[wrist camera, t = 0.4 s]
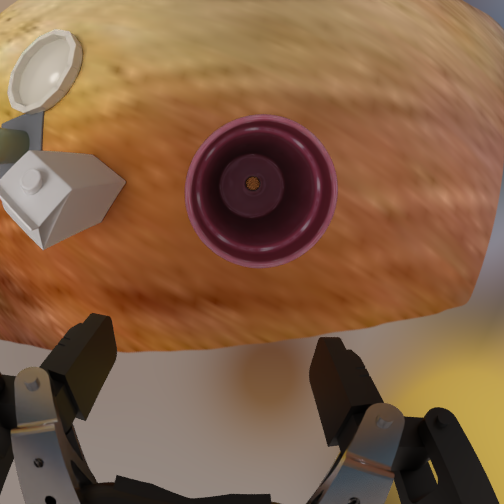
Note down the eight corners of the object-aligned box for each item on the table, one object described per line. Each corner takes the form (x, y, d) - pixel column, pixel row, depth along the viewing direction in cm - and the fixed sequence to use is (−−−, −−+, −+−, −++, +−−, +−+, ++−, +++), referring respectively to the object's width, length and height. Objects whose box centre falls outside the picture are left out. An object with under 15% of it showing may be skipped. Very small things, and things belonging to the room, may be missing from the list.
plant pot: (280, 252, 39) (304, 287, 27) (183, 219, 36) (163, 242, 24) (317, 157, 36) (359, 151, 23) (220, 119, 33) (217, 91, 21)
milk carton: (101, 222, 35) (19, 263, 17) (69, 194, 34) (-20, 216, 15) (127, 181, 34) (47, 193, 16) (92, 154, 32) (3, 148, 14)
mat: (3, 124, 28) (1, 123, 28) (44, 107, 29) (43, 107, 29) (1, 184, 31) (0, 184, 31) (42, 173, 32) (40, 174, 32)
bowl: (26, 52, 24) (17, 47, 22) (89, 26, 26) (82, 18, 23) (13, 122, 28) (3, 121, 26) (76, 101, 30) (67, 97, 27)
